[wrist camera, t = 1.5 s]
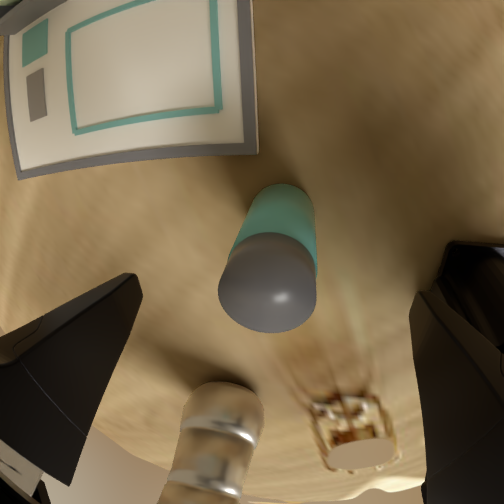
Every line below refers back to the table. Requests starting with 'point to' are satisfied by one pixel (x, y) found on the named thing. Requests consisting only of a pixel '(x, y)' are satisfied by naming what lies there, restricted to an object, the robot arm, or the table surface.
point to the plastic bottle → (214, 445)
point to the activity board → (127, 81)
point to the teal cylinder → (273, 263)
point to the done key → (9, 2)
